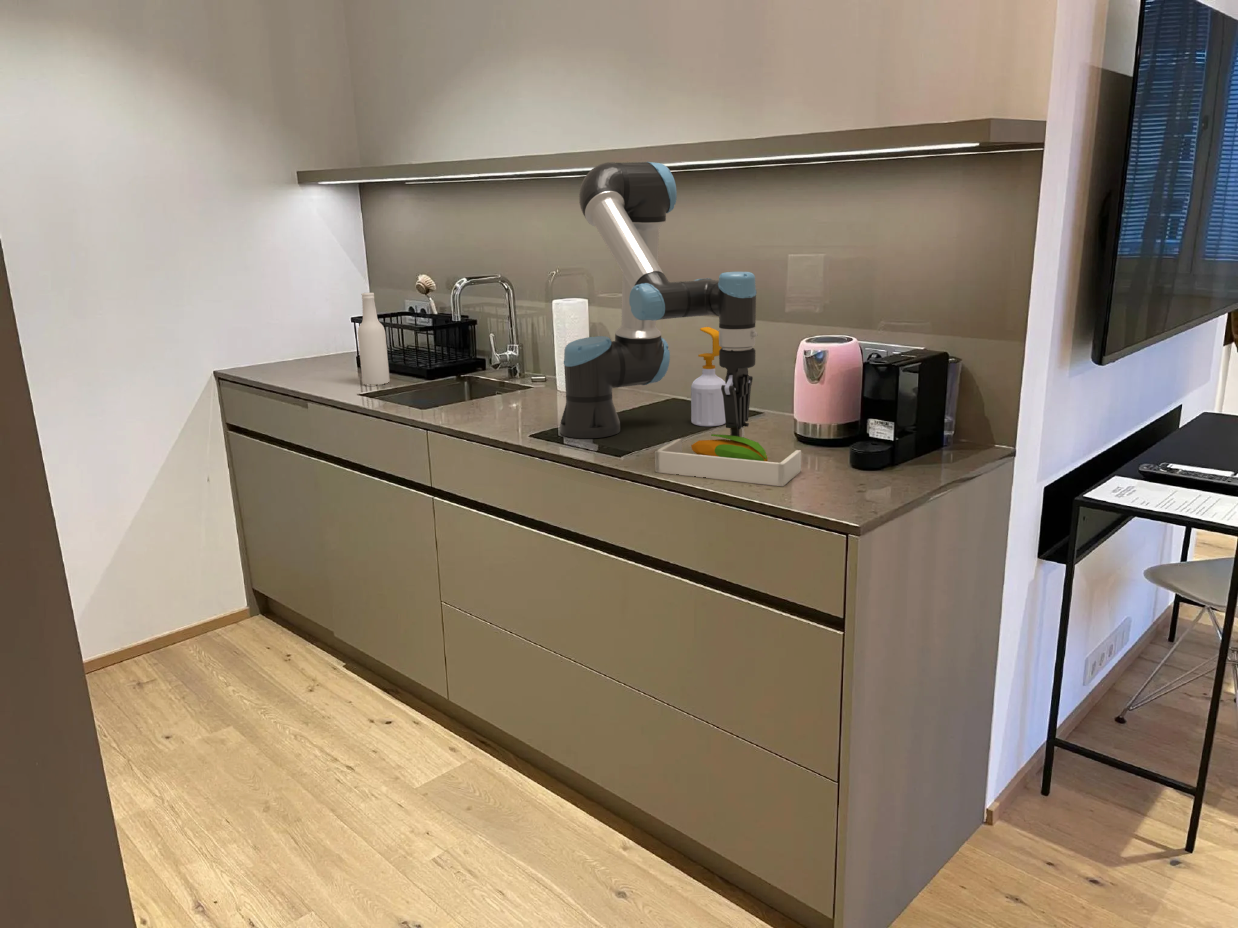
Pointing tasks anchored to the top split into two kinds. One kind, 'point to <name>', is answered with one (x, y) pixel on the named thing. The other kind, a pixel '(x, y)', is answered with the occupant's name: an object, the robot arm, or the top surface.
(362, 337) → the alcohol
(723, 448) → the corn
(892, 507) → the top surface
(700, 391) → the soap bottle
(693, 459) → the tray
